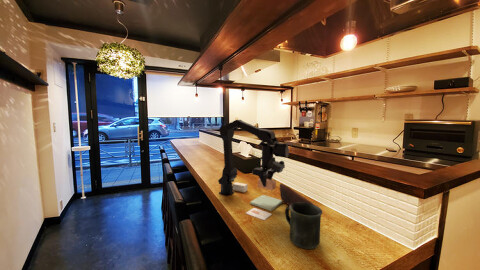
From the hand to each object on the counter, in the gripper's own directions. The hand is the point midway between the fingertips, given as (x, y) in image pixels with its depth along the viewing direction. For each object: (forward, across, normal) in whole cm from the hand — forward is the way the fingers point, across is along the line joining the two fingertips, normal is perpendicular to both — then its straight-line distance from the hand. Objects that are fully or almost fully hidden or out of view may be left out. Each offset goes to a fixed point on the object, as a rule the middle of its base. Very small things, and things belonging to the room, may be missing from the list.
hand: (266, 185), depth 102 cm
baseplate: (+9, 0, 0) cm, 9 cm away
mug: (+10, -18, -25) cm, 32 cm away
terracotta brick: (+1, 0, 0) cm, 1 cm away
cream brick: (+10, +6, +22) cm, 25 cm away
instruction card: (+9, -12, -3) cm, 16 cm away
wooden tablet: (+10, +2, -15) cm, 18 cm away
